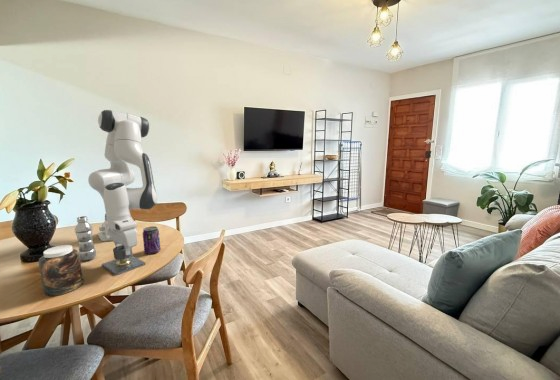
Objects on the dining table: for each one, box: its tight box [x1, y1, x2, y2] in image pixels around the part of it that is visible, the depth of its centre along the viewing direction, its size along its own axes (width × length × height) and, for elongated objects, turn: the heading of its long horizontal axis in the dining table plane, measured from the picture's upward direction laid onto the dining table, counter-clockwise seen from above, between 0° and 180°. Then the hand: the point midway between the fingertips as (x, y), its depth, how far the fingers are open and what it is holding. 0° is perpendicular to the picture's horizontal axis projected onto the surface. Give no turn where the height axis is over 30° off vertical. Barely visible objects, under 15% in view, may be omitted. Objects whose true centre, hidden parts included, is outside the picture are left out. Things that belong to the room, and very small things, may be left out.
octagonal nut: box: [112, 245, 133, 260], centre depth 115 cm, size 6×6×4 cm
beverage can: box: [142, 225, 161, 255], centre depth 129 cm, size 7×7×12 cm
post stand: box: [101, 254, 146, 276], centre depth 115 cm, size 14×12×7 cm
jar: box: [38, 244, 84, 297], centre depth 98 cm, size 12×12×15 cm
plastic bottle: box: [74, 215, 97, 262], centre depth 120 cm, size 6×7×20 cm
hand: (123, 252), depth 115 cm, fingers closed on octagonal nut, 6 cm apart
